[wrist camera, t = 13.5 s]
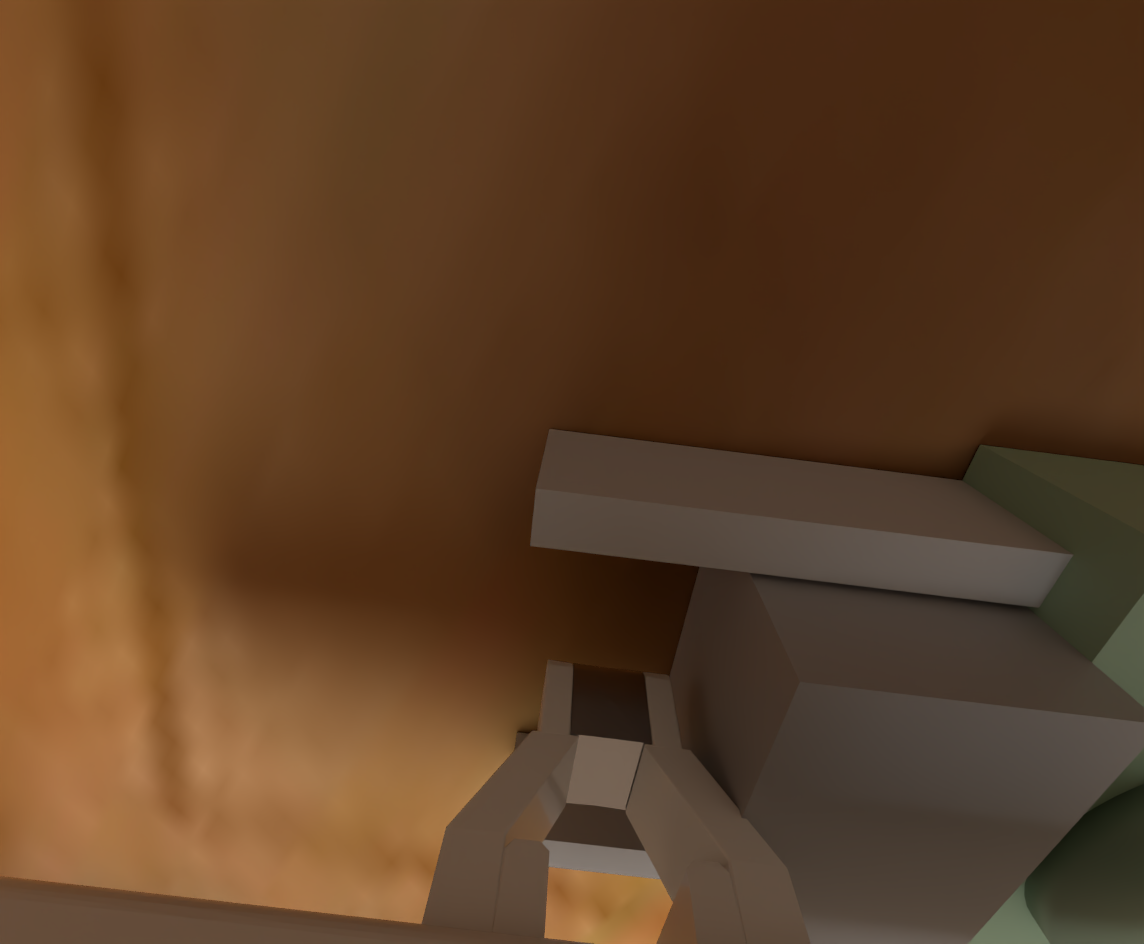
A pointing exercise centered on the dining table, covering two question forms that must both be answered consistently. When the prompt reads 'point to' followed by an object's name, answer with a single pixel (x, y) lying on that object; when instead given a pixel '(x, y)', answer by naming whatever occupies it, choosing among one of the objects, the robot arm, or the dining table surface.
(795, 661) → the grey rectangular block
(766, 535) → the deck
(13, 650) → the dining table surface
